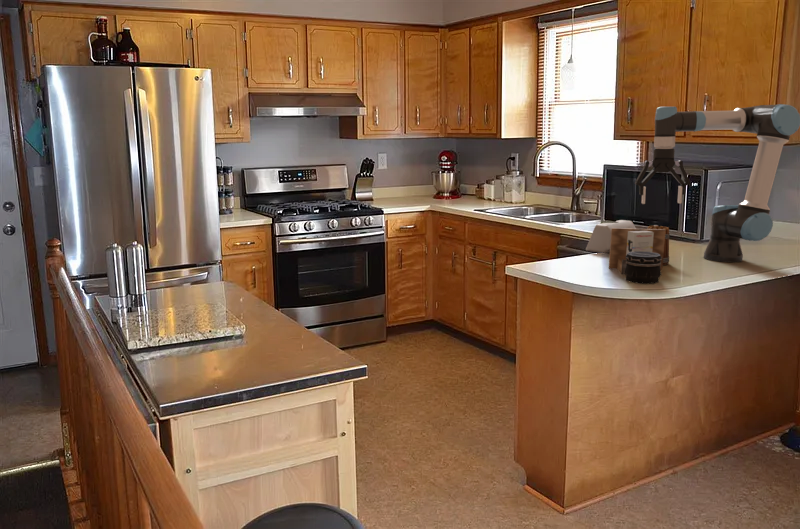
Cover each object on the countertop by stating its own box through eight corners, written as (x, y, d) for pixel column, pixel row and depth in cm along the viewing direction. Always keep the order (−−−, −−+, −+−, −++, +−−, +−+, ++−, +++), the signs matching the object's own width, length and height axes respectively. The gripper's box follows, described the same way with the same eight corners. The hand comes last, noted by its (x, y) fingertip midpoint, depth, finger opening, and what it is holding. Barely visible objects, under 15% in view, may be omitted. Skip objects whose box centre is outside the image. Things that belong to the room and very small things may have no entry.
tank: (617, 256, 309) (619, 227, 307) (584, 251, 320) (586, 223, 318) (644, 249, 327) (646, 222, 324) (612, 244, 338) (614, 218, 335)
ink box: (644, 260, 278) (647, 230, 275) (652, 262, 273) (654, 231, 271) (625, 261, 275) (627, 230, 273) (632, 263, 271) (634, 232, 268)
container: (622, 282, 256) (624, 255, 254) (624, 275, 268) (626, 249, 266) (660, 285, 252) (662, 258, 250) (661, 278, 263) (663, 252, 261)
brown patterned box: (661, 269, 279) (664, 229, 276) (668, 275, 269) (671, 233, 266) (608, 268, 282) (611, 227, 279) (613, 273, 271) (616, 232, 268)
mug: (671, 266, 287) (674, 229, 284) (643, 265, 289) (646, 228, 286) (664, 259, 302) (667, 224, 299) (638, 258, 304) (641, 223, 301)
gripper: (695, 146, 275) (691, 201, 280) (628, 148, 278) (626, 202, 282) (701, 147, 268) (697, 204, 272) (632, 148, 271) (630, 204, 275)
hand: (661, 203), depth 277 cm, fingers open, 13 cm apart
